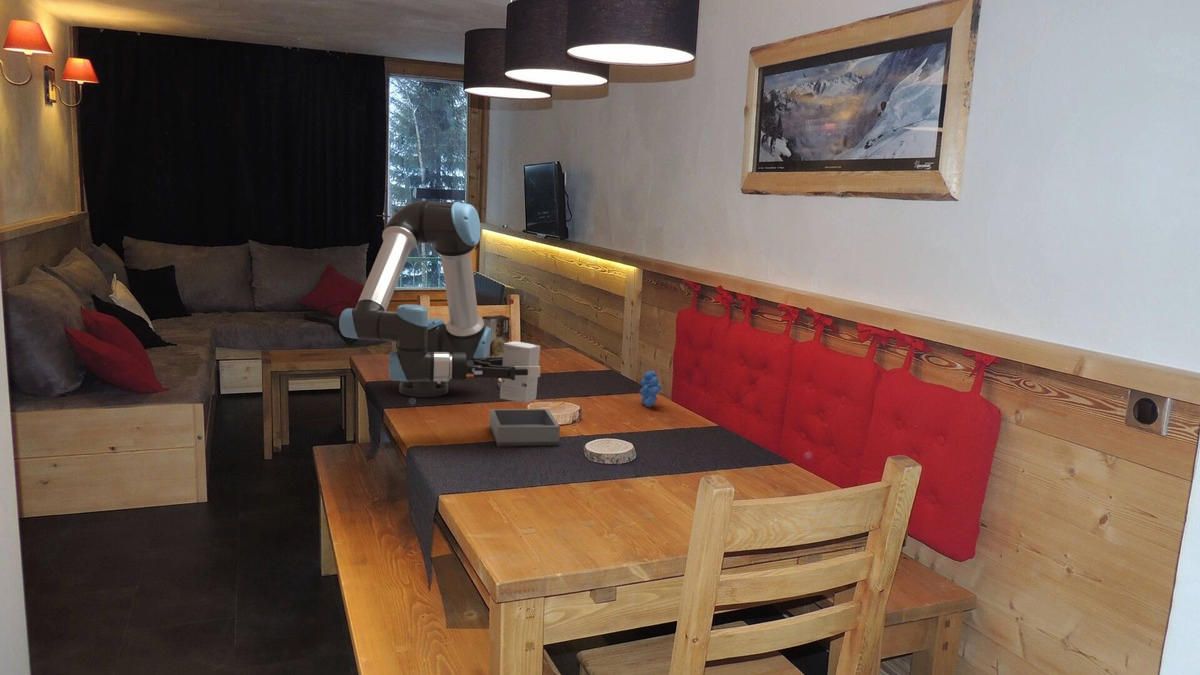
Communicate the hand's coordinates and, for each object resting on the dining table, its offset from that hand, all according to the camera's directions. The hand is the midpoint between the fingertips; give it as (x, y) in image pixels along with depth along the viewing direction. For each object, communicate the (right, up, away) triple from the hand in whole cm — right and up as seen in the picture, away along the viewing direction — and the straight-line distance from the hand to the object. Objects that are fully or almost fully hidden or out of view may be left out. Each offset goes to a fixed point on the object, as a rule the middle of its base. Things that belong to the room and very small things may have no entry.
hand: (537, 367), depth 220 cm
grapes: (+33, -14, +42) cm, 55 cm away
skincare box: (-5, -9, 0) cm, 10 cm away
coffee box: (-25, 0, +108) cm, 110 cm away
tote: (-4, -18, +3) cm, 19 cm away
